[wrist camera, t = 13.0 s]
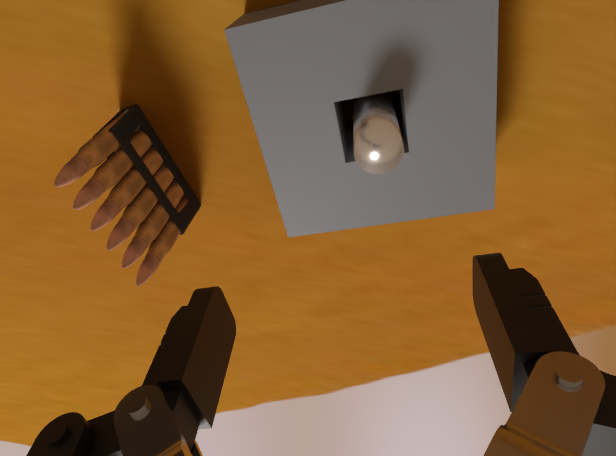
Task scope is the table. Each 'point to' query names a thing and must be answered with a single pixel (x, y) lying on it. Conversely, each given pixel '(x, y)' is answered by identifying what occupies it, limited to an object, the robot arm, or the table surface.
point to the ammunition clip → (133, 189)
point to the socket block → (363, 82)
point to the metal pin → (376, 134)
